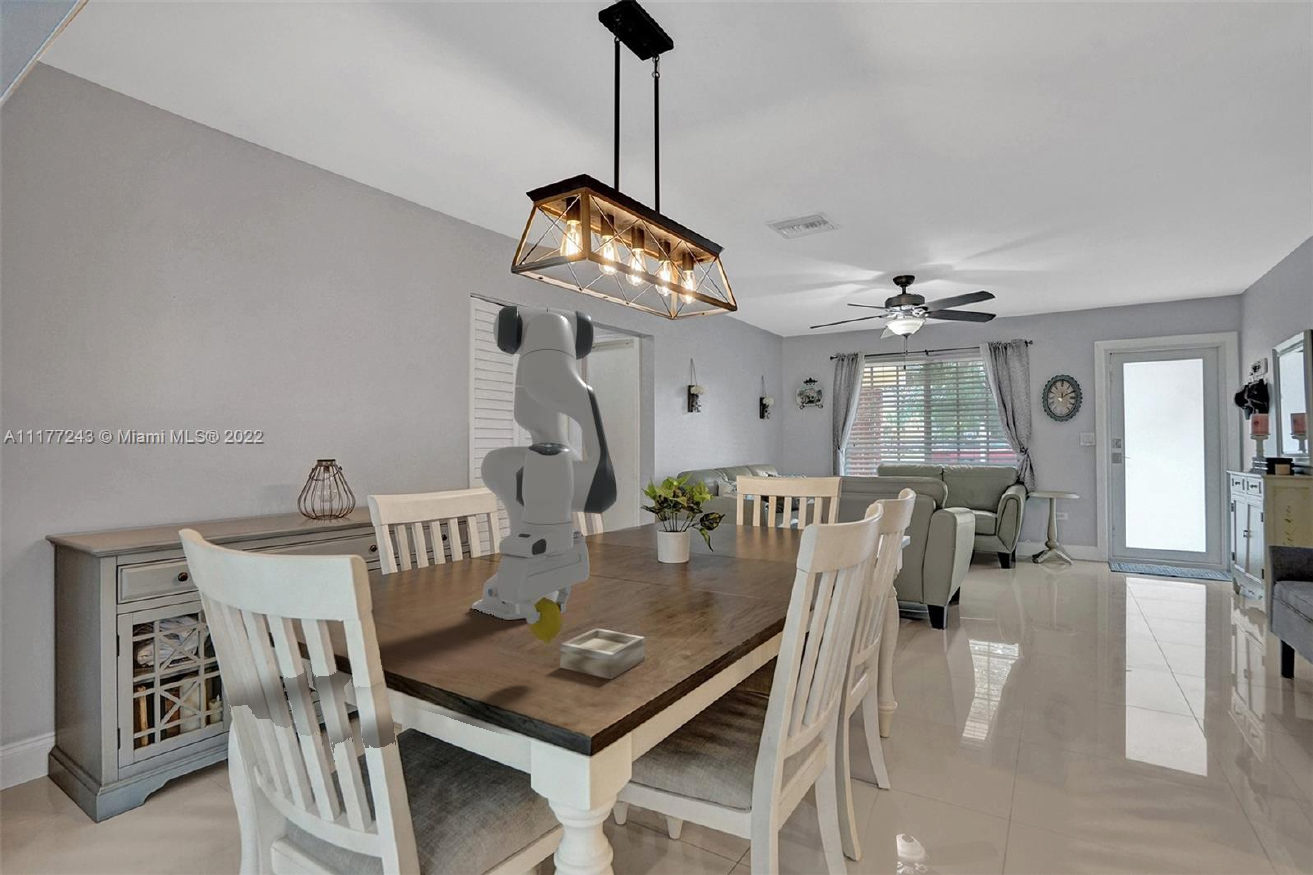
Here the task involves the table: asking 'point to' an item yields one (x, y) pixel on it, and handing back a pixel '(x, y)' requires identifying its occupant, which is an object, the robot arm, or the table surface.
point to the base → (602, 653)
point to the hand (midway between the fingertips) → (546, 617)
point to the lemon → (547, 620)
